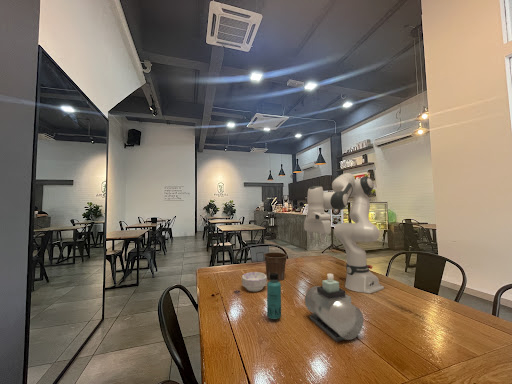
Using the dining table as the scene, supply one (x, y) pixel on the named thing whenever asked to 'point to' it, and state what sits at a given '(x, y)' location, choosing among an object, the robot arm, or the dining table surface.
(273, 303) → the beverage bottle
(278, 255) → the plant pot
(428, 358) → the dining table surface
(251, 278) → the paper bowls
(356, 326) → the motor
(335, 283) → the block
